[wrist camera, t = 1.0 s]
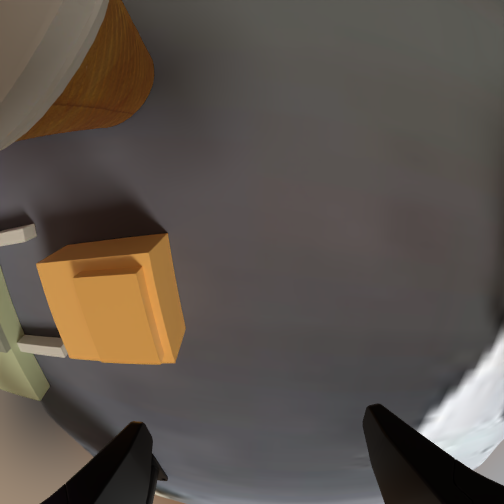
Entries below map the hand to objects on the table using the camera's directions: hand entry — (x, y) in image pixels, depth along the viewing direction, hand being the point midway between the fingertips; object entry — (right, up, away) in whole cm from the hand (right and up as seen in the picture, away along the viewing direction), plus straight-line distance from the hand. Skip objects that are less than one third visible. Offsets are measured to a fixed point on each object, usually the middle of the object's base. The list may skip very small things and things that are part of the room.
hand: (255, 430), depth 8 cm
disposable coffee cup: (-9, +16, +7) cm, 20 cm away
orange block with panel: (-9, +3, +11) cm, 15 cm away
